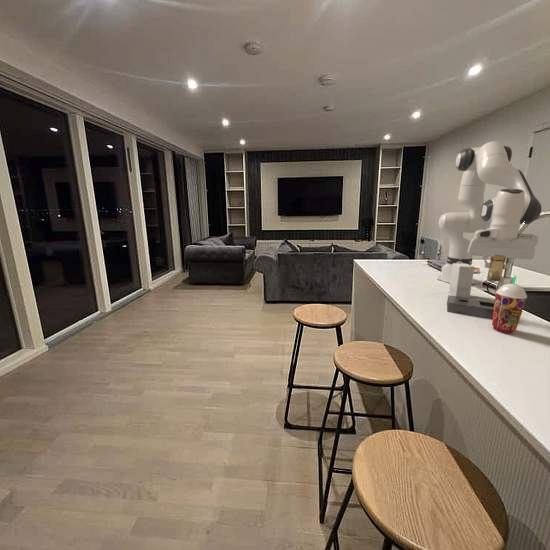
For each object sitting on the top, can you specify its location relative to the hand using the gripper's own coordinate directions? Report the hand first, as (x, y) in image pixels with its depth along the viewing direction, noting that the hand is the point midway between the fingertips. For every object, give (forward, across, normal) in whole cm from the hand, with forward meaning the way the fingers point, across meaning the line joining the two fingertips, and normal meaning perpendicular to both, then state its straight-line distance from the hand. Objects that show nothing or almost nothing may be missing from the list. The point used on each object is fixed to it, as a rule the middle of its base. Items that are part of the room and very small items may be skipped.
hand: (496, 268), depth 110 cm
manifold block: (+19, +4, 0) cm, 20 cm away
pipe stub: (+5, 0, 0) cm, 5 cm away
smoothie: (+19, -3, +16) cm, 25 cm away
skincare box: (+19, +9, -21) cm, 30 cm away
